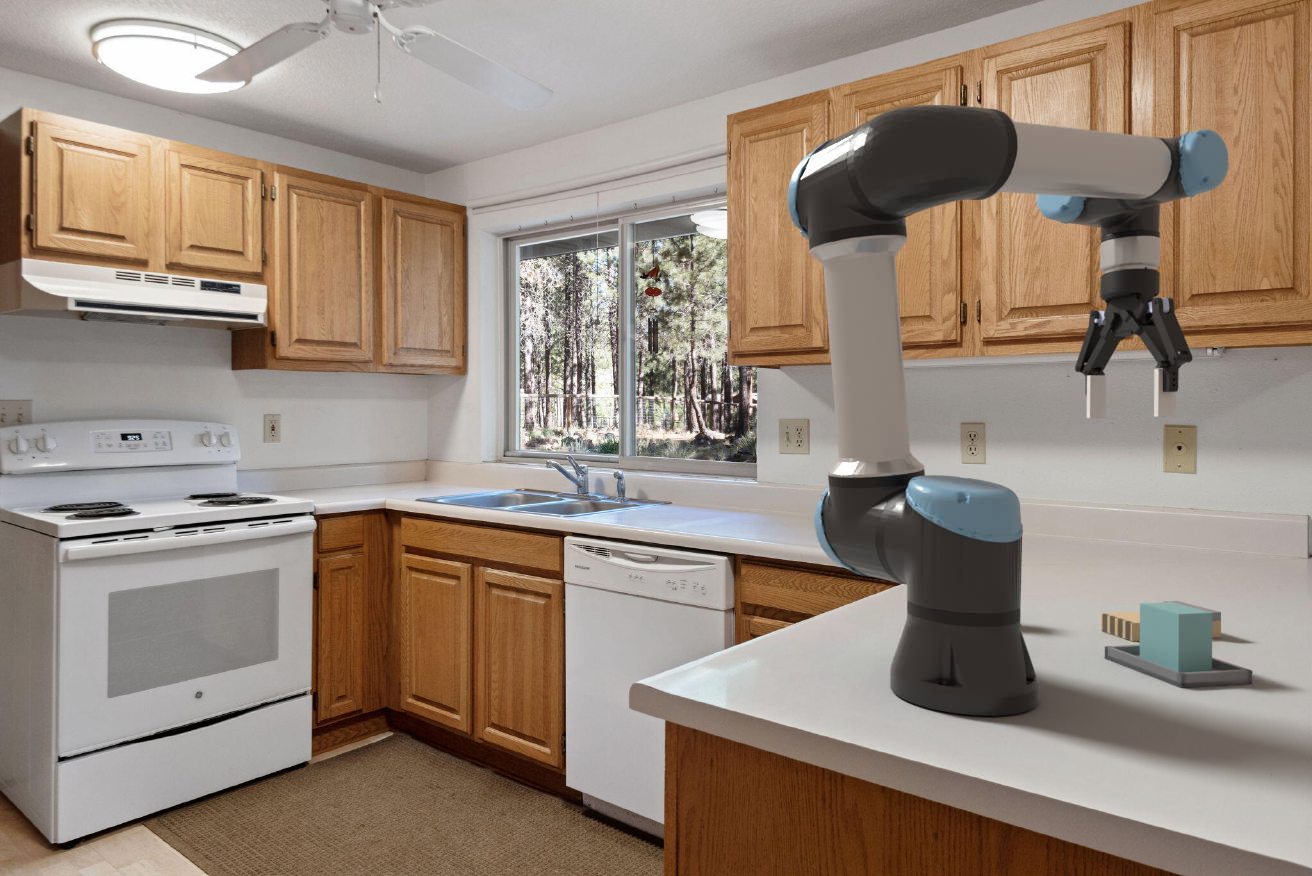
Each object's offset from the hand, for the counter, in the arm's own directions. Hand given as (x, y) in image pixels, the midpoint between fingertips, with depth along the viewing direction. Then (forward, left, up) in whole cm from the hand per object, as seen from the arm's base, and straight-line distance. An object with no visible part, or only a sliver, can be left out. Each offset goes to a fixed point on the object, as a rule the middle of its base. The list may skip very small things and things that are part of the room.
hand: (1128, 417), depth 121 cm
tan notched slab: (+2, -4, -31) cm, 31 cm away
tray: (-10, -20, -31) cm, 38 cm away
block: (-10, -20, -30) cm, 38 cm away
